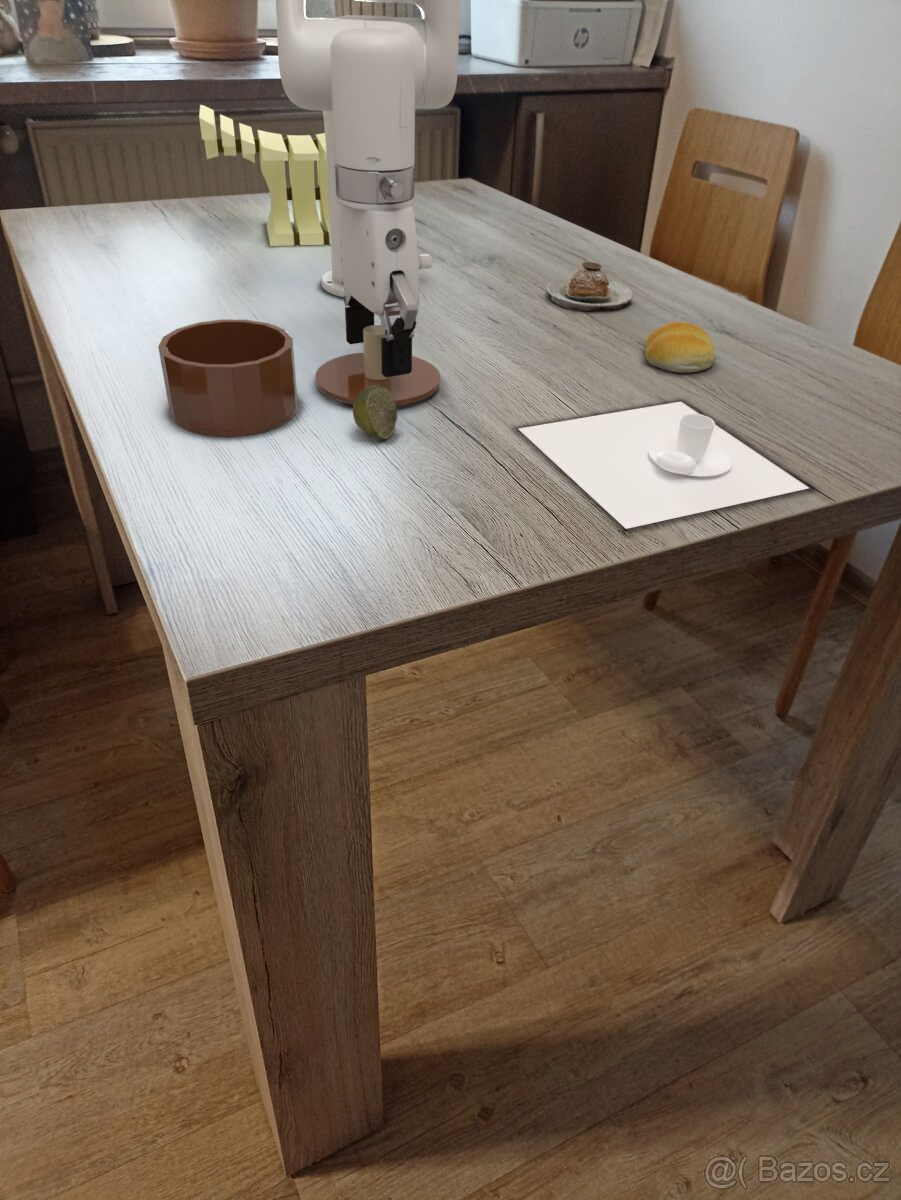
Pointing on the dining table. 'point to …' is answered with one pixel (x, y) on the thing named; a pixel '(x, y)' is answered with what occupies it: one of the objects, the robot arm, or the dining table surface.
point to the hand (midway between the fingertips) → (378, 357)
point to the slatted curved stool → (280, 176)
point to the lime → (375, 412)
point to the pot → (229, 377)
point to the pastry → (589, 290)
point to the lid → (375, 374)
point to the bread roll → (680, 348)
